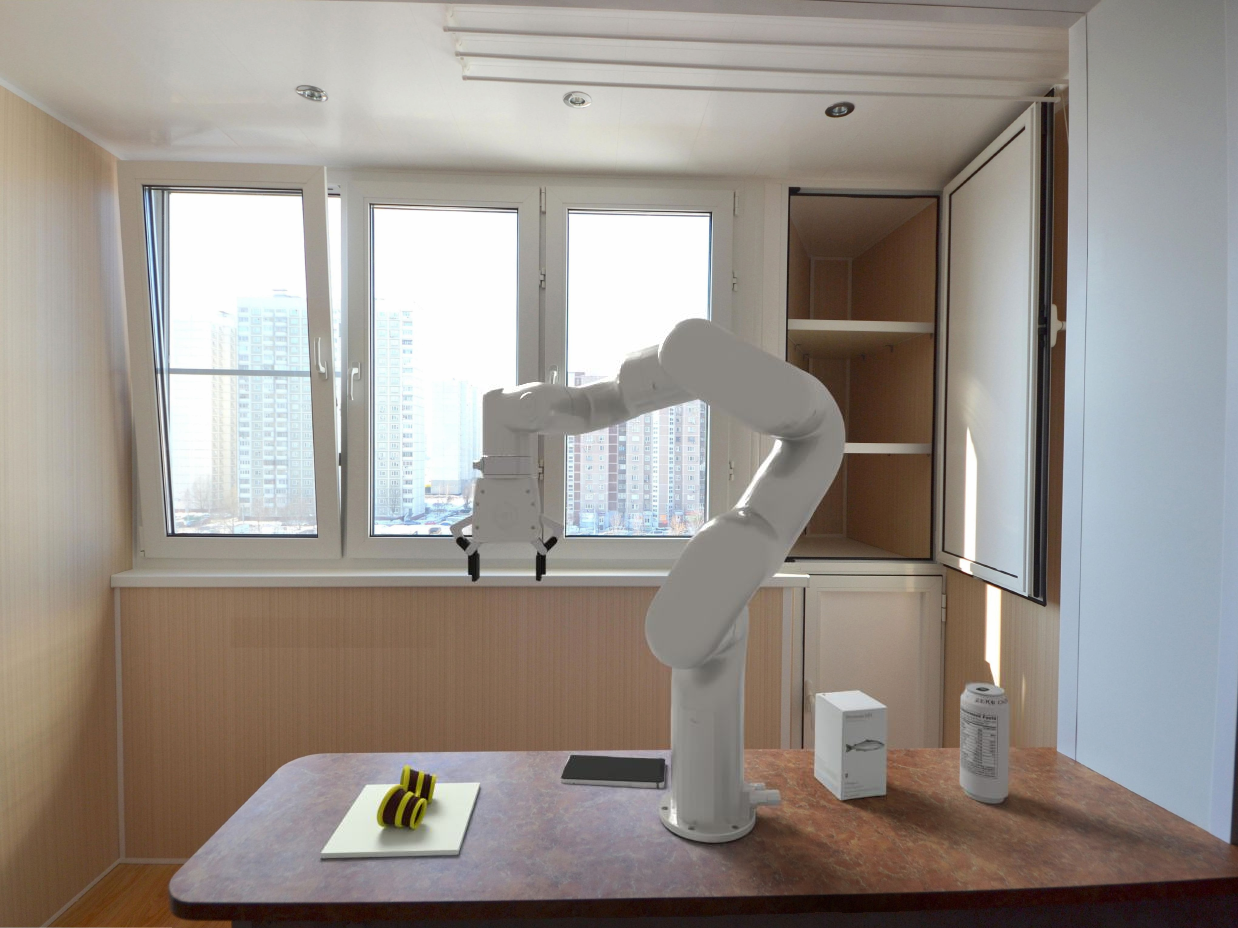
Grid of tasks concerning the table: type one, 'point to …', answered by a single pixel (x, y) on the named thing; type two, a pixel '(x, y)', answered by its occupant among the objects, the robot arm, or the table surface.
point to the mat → (432, 836)
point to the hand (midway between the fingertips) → (507, 579)
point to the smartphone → (615, 771)
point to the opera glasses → (407, 800)
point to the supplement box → (850, 744)
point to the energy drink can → (984, 742)
